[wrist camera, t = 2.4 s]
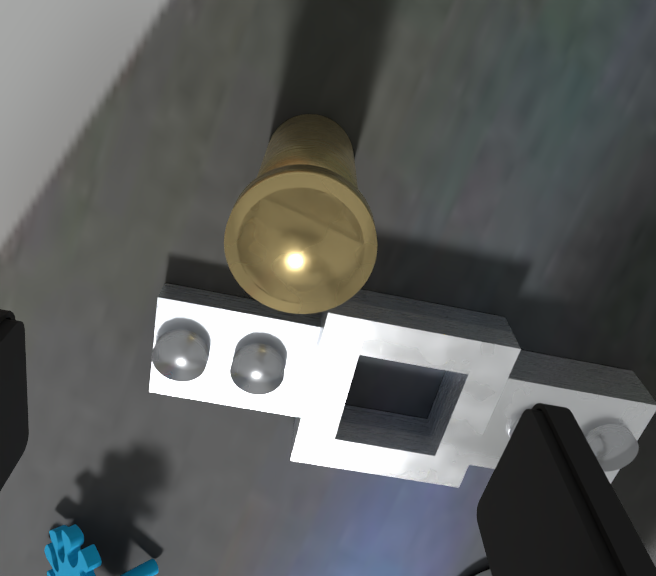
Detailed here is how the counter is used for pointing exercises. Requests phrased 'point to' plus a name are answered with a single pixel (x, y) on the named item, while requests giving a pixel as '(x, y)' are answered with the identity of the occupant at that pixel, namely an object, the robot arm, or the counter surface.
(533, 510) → the robot arm
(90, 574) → the gear
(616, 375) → the white studded link plate
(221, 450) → the counter surface
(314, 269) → the pin
